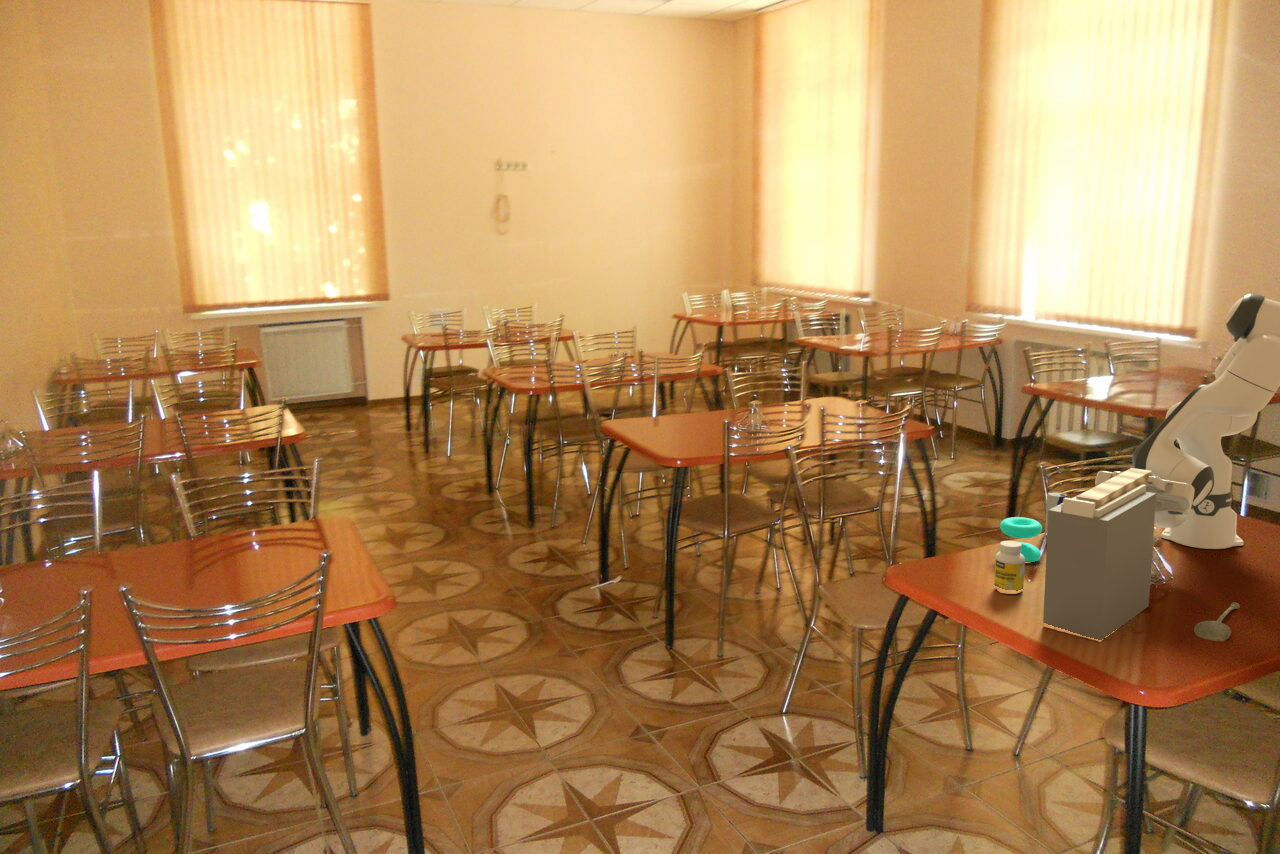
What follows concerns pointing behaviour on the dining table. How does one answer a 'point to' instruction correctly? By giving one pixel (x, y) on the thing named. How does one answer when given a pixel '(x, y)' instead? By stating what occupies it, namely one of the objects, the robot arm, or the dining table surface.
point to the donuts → (1023, 535)
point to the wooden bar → (1116, 487)
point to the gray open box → (1099, 562)
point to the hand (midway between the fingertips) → (1133, 477)
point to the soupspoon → (1215, 627)
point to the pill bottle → (1009, 566)
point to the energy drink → (1053, 503)
